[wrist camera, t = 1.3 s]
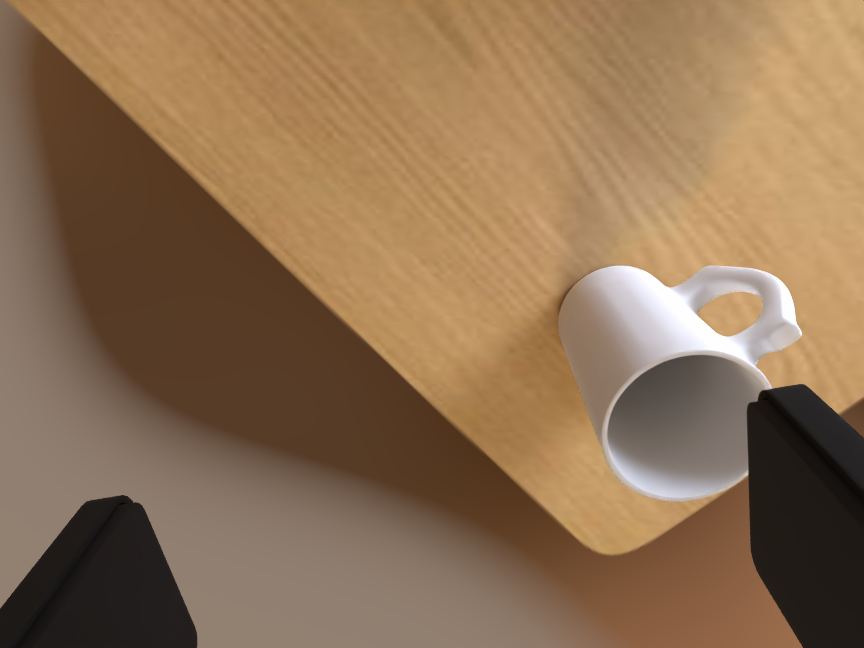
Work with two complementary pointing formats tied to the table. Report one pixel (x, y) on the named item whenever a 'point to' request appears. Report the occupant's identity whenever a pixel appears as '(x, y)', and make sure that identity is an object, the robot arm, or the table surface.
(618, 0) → the table surface
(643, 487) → the mug
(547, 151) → the table surface
